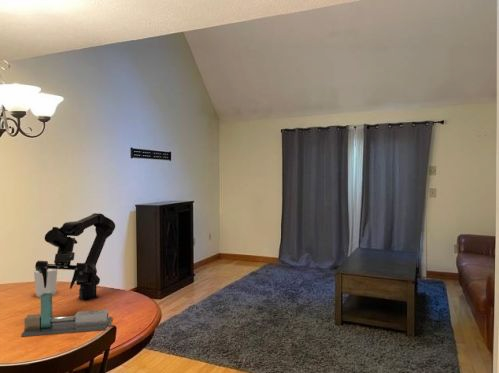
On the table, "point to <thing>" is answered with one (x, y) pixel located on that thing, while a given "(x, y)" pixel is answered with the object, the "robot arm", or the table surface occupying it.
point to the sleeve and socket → (69, 323)
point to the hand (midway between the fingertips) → (57, 288)
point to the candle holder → (50, 282)
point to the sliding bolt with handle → (50, 312)
